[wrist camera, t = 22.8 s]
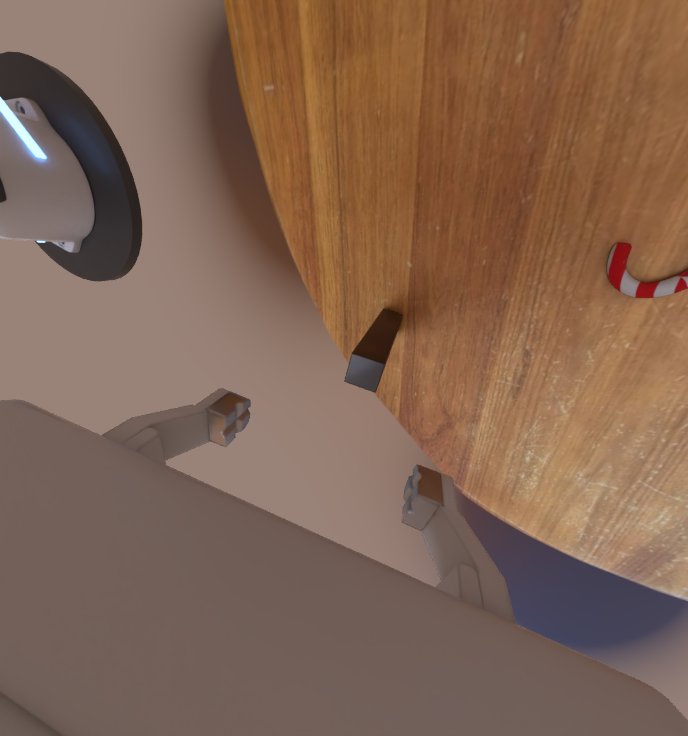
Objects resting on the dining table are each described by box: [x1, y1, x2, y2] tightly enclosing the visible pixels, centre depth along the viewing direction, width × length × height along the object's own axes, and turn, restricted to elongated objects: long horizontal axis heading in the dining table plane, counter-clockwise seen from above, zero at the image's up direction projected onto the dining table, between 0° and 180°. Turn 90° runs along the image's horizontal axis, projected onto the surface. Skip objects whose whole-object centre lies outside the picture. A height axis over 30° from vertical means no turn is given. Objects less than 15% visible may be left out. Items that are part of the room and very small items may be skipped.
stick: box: [345, 309, 403, 392], centre depth 23 cm, size 2×2×14 cm
